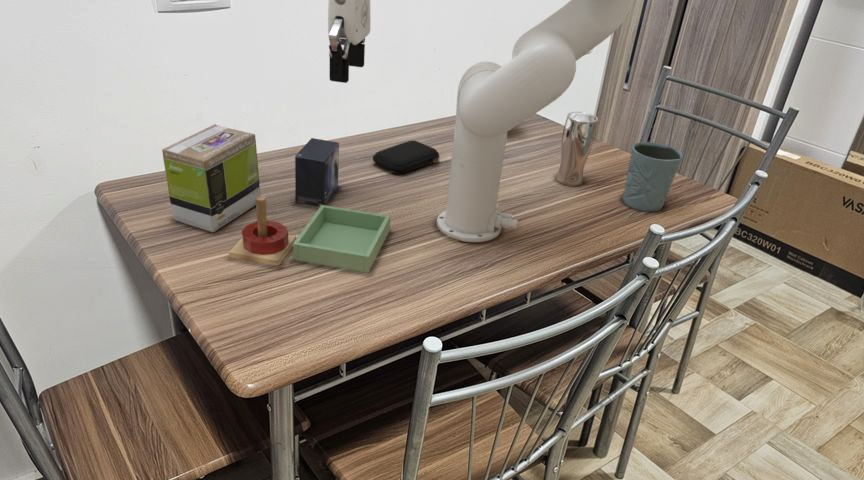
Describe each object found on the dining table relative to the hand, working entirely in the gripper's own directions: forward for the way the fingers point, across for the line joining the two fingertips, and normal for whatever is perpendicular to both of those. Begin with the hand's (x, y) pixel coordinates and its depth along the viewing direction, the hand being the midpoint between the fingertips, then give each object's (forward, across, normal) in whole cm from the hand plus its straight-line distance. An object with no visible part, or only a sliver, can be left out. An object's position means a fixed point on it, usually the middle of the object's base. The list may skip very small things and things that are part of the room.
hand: (347, 73), depth 119 cm
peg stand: (+28, -17, +10) cm, 34 cm away
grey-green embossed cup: (+28, +28, -59) cm, 71 cm away
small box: (+28, +7, +8) cm, 30 cm away
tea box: (+28, -6, +24) cm, 38 cm away
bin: (+28, -11, -3) cm, 31 cm away
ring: (+27, -17, +10) cm, 33 cm away
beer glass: (+28, +34, -43) cm, 62 cm away
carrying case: (+28, +30, -6) cm, 42 cm away
